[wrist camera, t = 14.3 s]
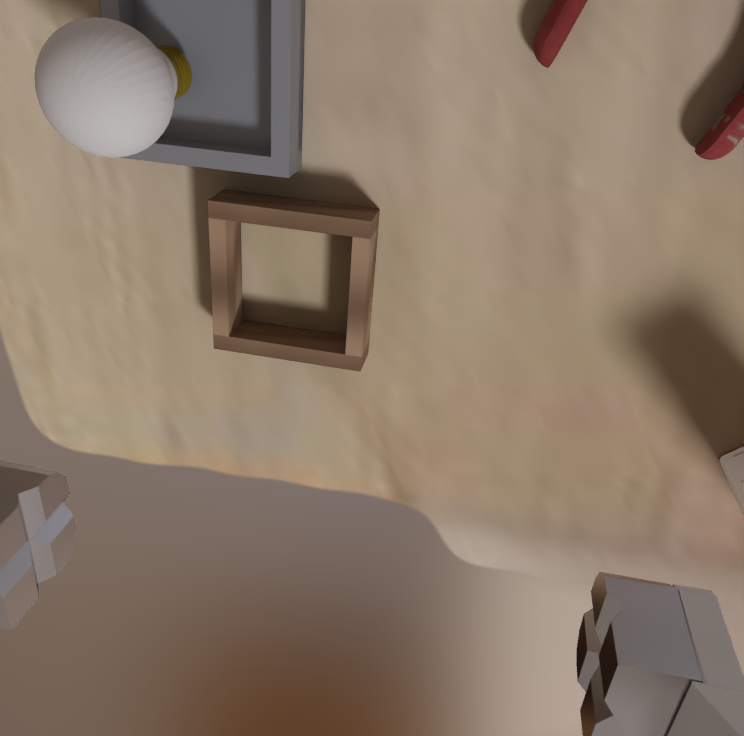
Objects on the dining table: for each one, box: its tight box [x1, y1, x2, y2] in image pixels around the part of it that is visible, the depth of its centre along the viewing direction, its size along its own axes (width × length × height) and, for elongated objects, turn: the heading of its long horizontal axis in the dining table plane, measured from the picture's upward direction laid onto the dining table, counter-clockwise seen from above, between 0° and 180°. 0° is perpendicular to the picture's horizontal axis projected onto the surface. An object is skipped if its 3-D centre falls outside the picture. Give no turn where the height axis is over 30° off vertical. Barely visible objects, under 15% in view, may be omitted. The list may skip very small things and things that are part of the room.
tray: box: [100, 0, 305, 178], centre depth 37 cm, size 10×10×2 cm
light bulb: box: [35, 17, 192, 158], centre depth 33 cm, size 6×6×10 cm
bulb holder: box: [208, 190, 380, 371], centre depth 42 cm, size 9×9×2 cm
